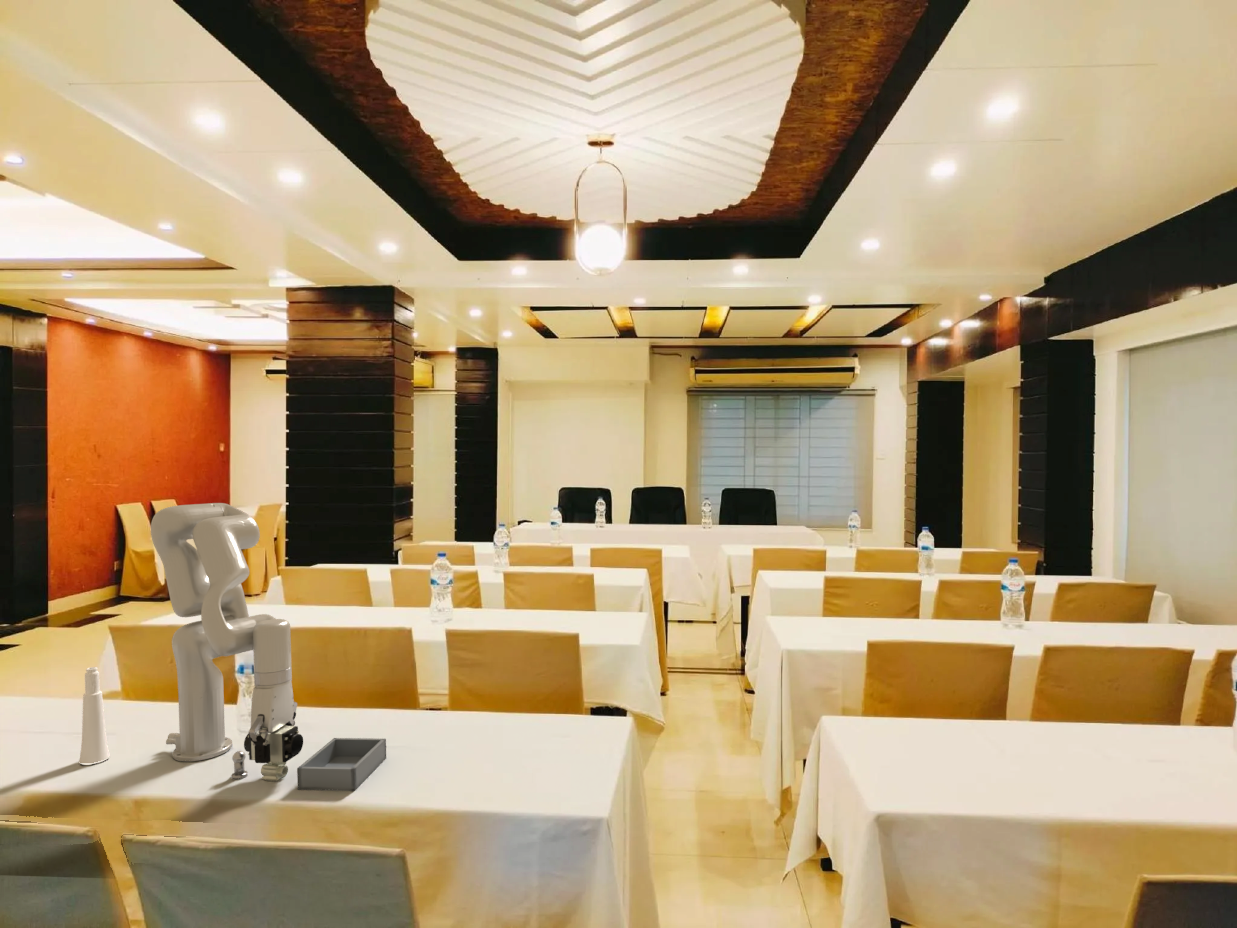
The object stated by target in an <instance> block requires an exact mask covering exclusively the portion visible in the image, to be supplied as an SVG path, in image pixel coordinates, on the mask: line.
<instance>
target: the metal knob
mask: <svg viewBox="0 0 1237 928" xmlns="http://www.w3.org/2000/svg"><path fill="white" fill-rule="evenodd" d="M245 760H246V753H245V752H244V751H243V750H239V751H238V750H237V751H235V753H233V755H232V761H233V769H234V772H233V773H232V774H231V775H230V776H231V777H230V778H231V779H232V780H234V781H236V780H242V779H244V778H246V777H248V773H249V772H248V771H247V770H245Z"/></svg>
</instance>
